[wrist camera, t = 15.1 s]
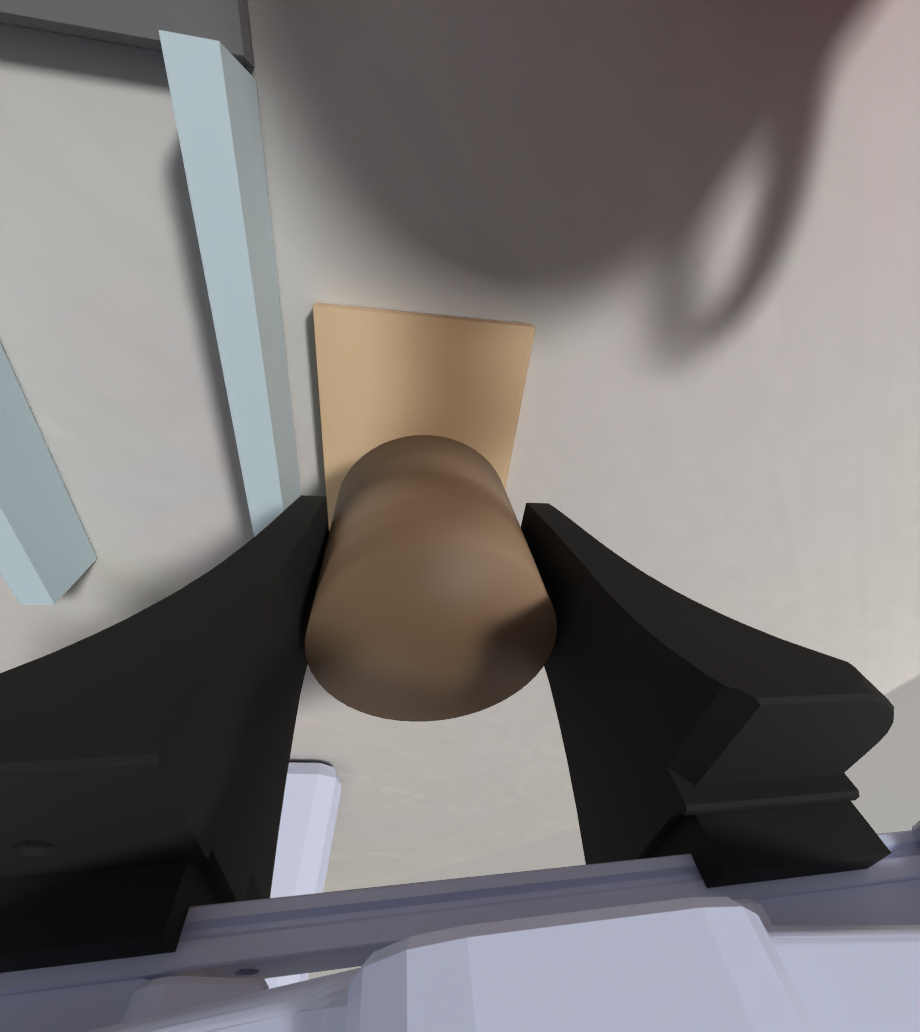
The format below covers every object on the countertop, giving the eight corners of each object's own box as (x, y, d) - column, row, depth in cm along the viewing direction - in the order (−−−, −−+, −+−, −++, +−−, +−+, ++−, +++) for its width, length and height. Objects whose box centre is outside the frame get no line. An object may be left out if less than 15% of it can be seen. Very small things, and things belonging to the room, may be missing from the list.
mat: (332, 550, 17) (330, 560, 17) (316, 302, 12) (312, 305, 12) (489, 552, 18) (491, 561, 18) (530, 323, 13) (535, 327, 13)
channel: (66, 558, 16) (19, 604, 14) (-210, -1, 8) (-398, -73, 6) (308, 560, 17) (296, 602, 15) (255, 79, 10) (219, 41, 8)
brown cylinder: (364, 590, 14) (349, 738, 10) (311, 455, 11) (260, 583, 7) (512, 560, 14) (559, 696, 10) (496, 418, 11) (552, 525, 7)
